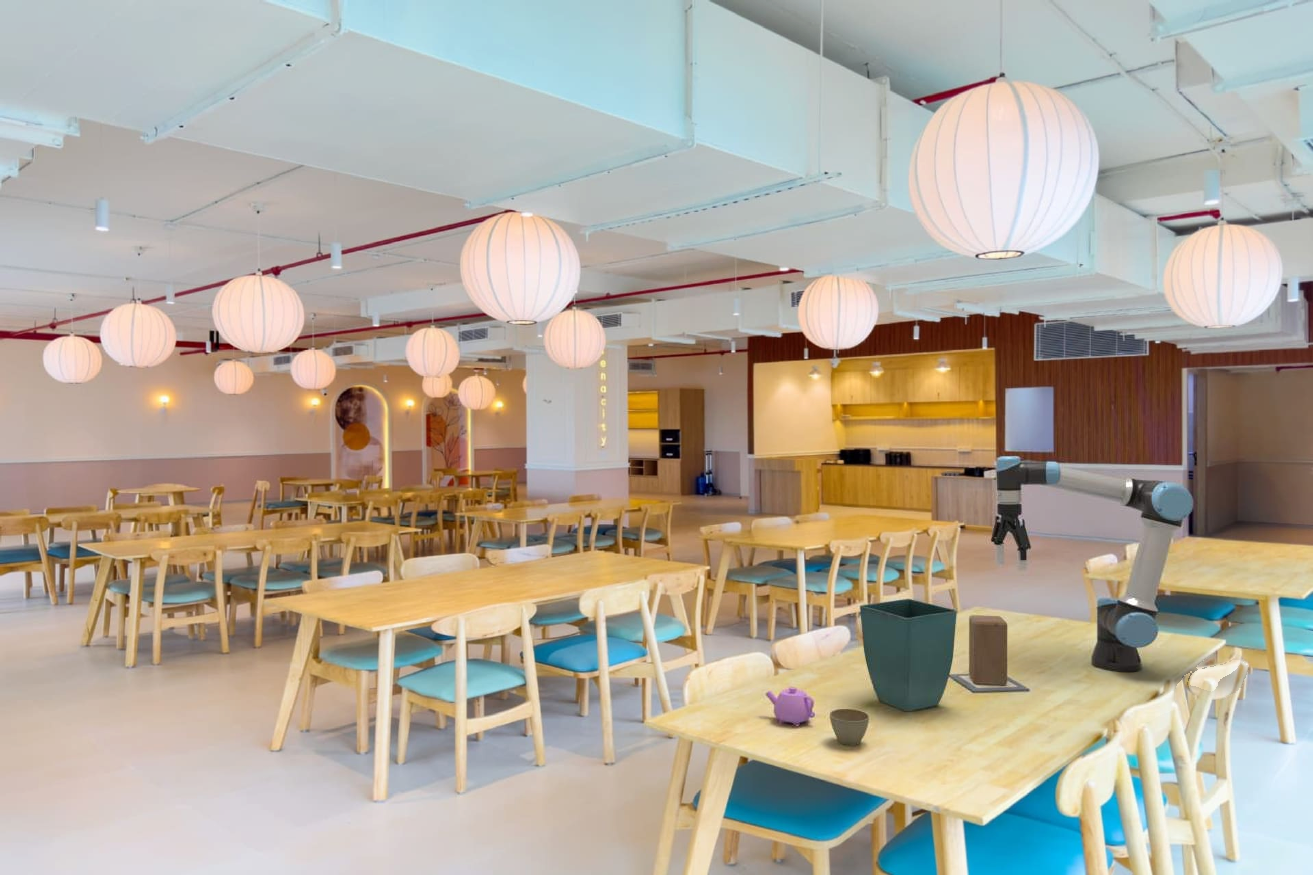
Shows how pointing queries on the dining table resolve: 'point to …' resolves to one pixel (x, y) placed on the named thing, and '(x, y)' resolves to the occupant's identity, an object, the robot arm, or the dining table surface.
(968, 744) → the dining table surface
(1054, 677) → the dining table surface
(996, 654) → the wooden block
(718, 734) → the dining table surface
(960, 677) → the mat
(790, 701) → the teapot
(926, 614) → the flower pot
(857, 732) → the bowl
